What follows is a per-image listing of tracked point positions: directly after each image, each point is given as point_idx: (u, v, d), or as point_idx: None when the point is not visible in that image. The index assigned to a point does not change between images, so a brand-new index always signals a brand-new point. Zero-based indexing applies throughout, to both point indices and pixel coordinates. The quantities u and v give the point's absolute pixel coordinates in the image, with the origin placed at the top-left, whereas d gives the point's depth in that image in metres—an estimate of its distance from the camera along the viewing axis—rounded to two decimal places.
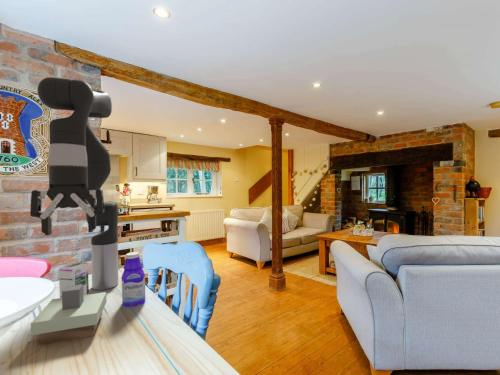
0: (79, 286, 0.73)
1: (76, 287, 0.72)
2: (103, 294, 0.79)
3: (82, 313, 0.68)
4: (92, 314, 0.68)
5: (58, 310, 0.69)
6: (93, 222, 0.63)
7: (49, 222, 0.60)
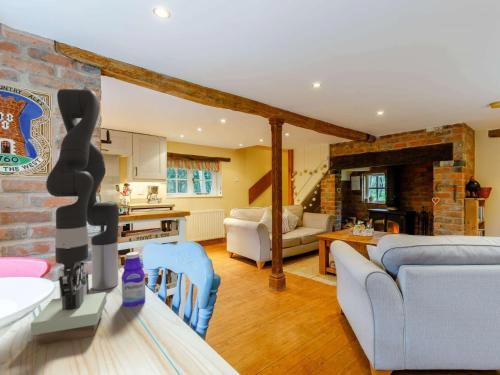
0: (79, 286, 0.73)
1: (76, 287, 0.72)
2: (103, 294, 0.79)
3: (82, 313, 0.68)
4: (92, 314, 0.68)
5: (58, 310, 0.69)
6: None
7: None
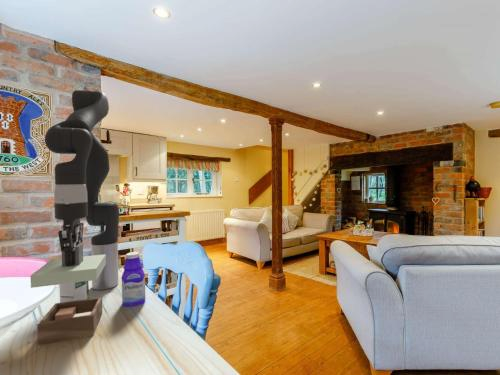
0: (78, 244, 0.73)
1: None
2: (103, 255, 0.79)
3: (82, 268, 0.68)
4: (91, 269, 0.68)
5: (58, 266, 0.69)
6: None
7: None
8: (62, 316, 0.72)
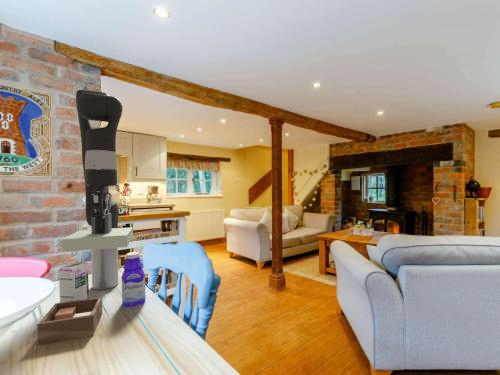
0: (107, 213, 0.71)
1: None
2: (130, 228, 0.78)
3: (112, 235, 0.66)
4: (122, 235, 0.66)
5: (87, 234, 0.68)
6: None
7: None
8: (62, 316, 0.72)
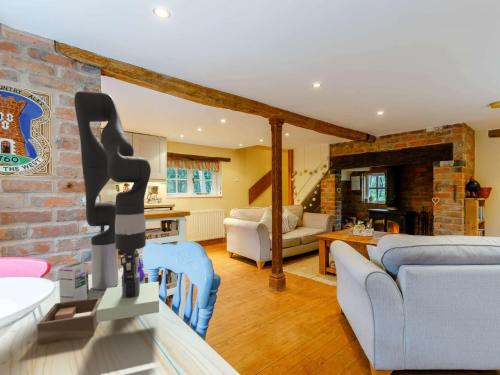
0: (136, 274, 0.71)
1: None
2: (156, 283, 0.78)
3: (144, 301, 0.66)
4: (154, 301, 0.66)
5: (118, 298, 0.68)
6: None
7: None
8: (62, 316, 0.72)
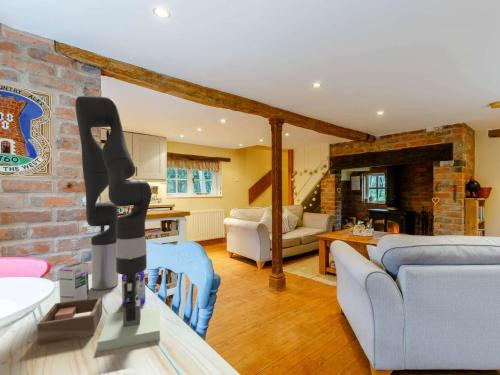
0: (137, 302, 0.72)
1: None
2: (157, 309, 0.78)
3: (145, 331, 0.67)
4: (155, 331, 0.66)
5: (119, 327, 0.68)
6: None
7: None
8: (62, 316, 0.72)
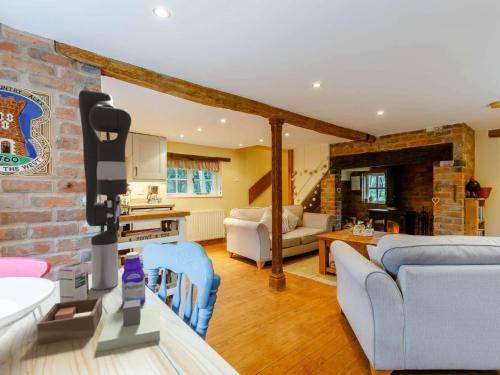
0: (137, 302, 0.72)
1: (135, 303, 0.71)
2: (157, 309, 0.78)
3: (145, 331, 0.67)
4: (155, 331, 0.66)
5: (119, 327, 0.68)
6: None
7: None
8: (62, 316, 0.72)
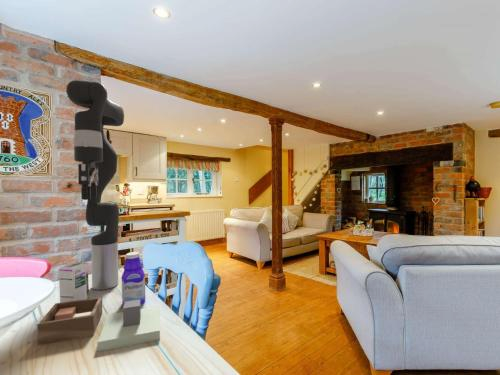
0: (137, 302, 0.72)
1: (135, 303, 0.71)
2: (157, 309, 0.78)
3: (145, 331, 0.67)
4: (155, 331, 0.66)
5: (119, 327, 0.68)
6: None
7: None
8: (62, 316, 0.72)
